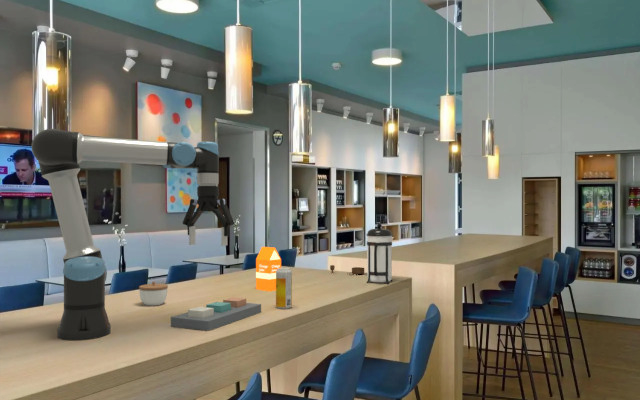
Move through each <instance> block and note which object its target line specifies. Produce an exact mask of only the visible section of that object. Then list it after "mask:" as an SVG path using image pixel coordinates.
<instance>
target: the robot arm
mask: <svg viewBox="0 0 640 400" xmlns="http://www.w3.org/2000/svg"><path fill="white" fill-rule="evenodd" d="M31 152H32V155H33V156H34V158H35V160H36V161H37V162H38V165H39V170H40V173H41V174H40V175H41V178H43V179H45V180H47V181H48V184H49V188H50V192H51V196H52V200H53V203H54V207H55V213H56V216H57V219H58V223H59V227H60V228H59V229H60V232H61V235H62V239H63V244H64V247H65V254H64V255H63V257H62V260H63V270H62V273H63V312H62V315H61V319H60V321H59V326H58V327H57V330H56V332H57V336H56V337H57V338H58V339H60V340H64V341H85V340H93V339H97V338H98V339H99V338H102V337H106V336H108V335H109V334H111V331H112V325H111V323H110V322H109V317H108V313H107V310H106V308H105V307H106V305H105V304H106V301H105V300H106V295H105V294H106V292H105V291H106V287H105V286H106V282H107V274H108V273H107V272H108V271H107V268H106V265H105V261H104V259H103V256H102V251H101V249H100V248H99V247H97V246H96V245H95V244H94V240H93V235H92V231H91V228H90V224H89V220H88V216H87V212H86V207H85V204H84V200H83V196H82V191H81V188H80V184H79V179H78V174H79V172H80V170H81V167H80V163H81V162H84V161H85V162H86V161H87V162H88V161H90V162H102V163H103V162H104V163H105V162H107V163H124V164H142V165H143V164H145V165H159V166H160V165H161V166H162V167H163V168H165V169H171V170H172V169H196V170H197V171H196V174H197V175H196V184H197V185H198V186H197V187H196V188H197V189H196V191H197V192H196V194H197V195H196V196H197V199H196V198H190V200H189V207H188V208H187V211H186V214H185V216H184V218H183V220H182V224H183V225H185V226H186V227H187V236H188V240H189V241H188V245H189V246H193V245H196V226H195V223H196V222H197V221H198V220H199V218H200V217H201V216H202V213H203V214H204V213H205V212H206V213H207V212H210V213H211V212H212V213H213V214H214V215H215V217H216V218H217V220H218V221H219V222H220V223H221V225H222V226H221V230H220V231H221V233H220V235H221V237H220V238H221V240H220V241H221V244H220V245H221V247H222V246H223V247H225V246H228V237H230V227H231V226H233V225H235V222H234V219H233V217H232V214H231V212H230V209H229V207H228V203H227V198H219V195H220V194H219V193H220V191H219V189H220V188H219V186H218V185H219V181H220V180H219V178H220V177H219V176H220V175H219V173H220V172H219V168H220V167H219V166H220V164H219V162H220V160H219V159H220V155H219V154H220V153H219V145H218V143H217V142H214V141H198V142H197V144H196V146H195V147H194V145H192V144H191V143H189V142H186V141H180V142H171V141H169V142H168V141H157V140H145V139H143V140H142V139H131V138H129V139H127V138H117V137H115V138H114V137H105V136H103V137H102V136H101V137H100V136H88V135H83V134H82V133H81V132H77V131H68V130H62V129H56V128H48V129H47V128H46V129H44V130H41V131H40V132H38V133H37V134H36V135H35V136H34V137H33V139H32V142H31ZM197 205H198V206H197ZM218 205H219V206H220V207H219V206H218ZM220 208H221V209H220Z"/></svg>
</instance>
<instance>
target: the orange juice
mask: <svg viewBox="0 0 640 400" xmlns="http://www.w3.org/2000/svg"><path fill="white" fill-rule="evenodd" d="M278 268H282V258H281V256H280V254H279V253H278V251H277V249H276V247H274V246H273V247H270V246H261V248H260V249H259V253H258V254H257V256H256V258H255V270H256V271H255V289H256V290H259V291H265V292H274V291H275V292H276V271H277V269H278Z"/></svg>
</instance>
